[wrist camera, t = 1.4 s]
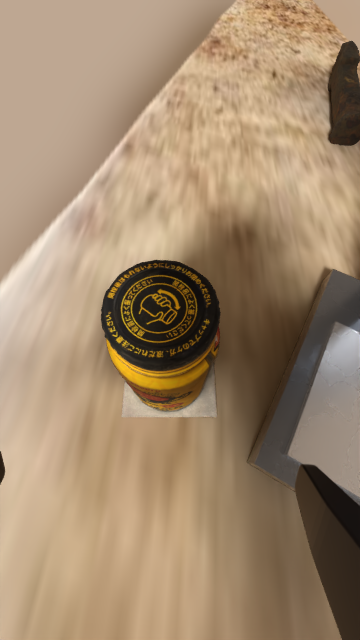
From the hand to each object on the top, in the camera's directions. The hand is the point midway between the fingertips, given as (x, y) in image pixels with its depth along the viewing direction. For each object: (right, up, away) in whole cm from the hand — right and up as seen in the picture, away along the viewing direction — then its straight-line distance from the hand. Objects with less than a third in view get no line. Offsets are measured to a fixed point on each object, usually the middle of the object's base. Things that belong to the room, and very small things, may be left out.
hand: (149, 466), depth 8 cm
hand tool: (+23, +35, +32) cm, 53 cm away
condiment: (0, +1, +15) cm, 15 cm away
